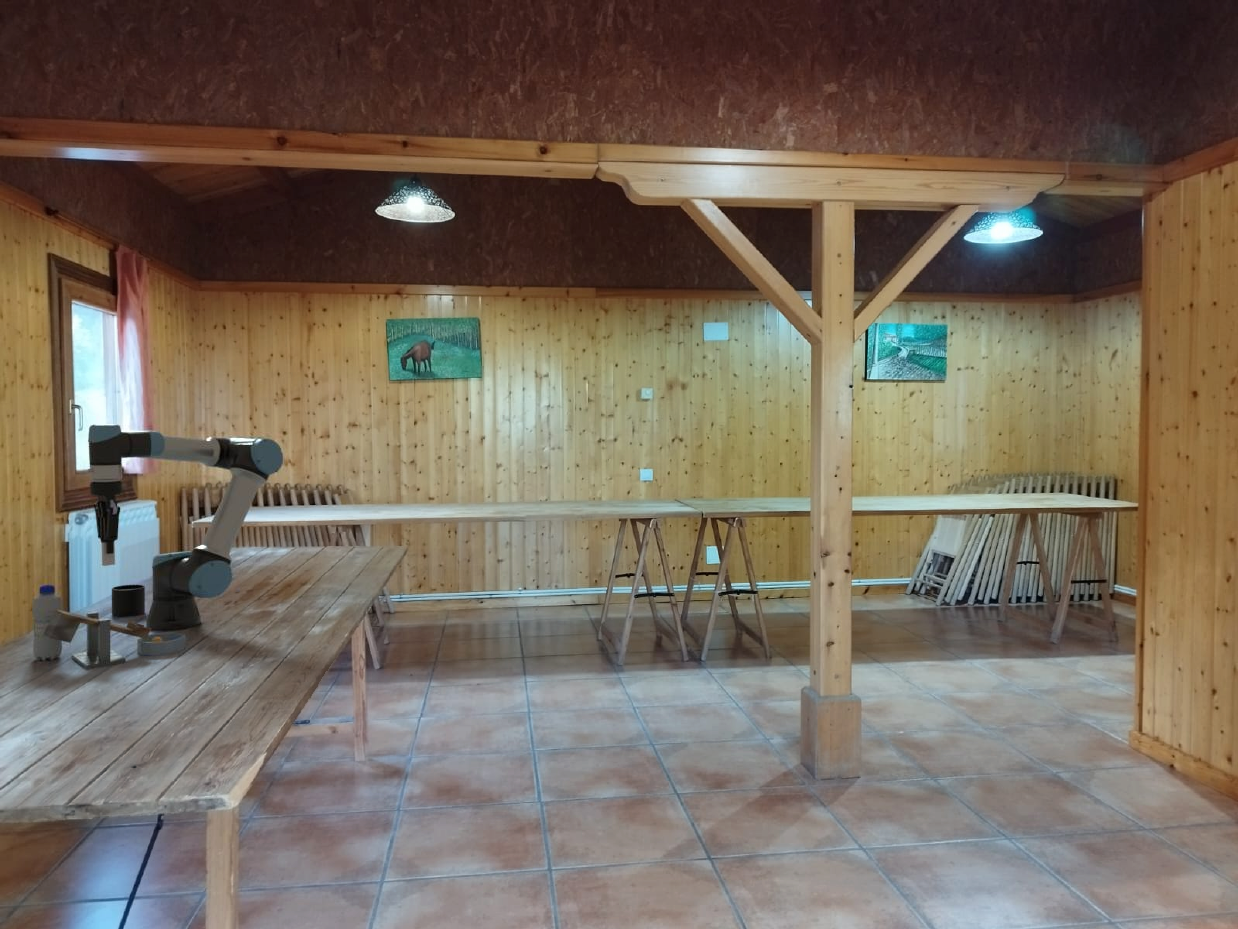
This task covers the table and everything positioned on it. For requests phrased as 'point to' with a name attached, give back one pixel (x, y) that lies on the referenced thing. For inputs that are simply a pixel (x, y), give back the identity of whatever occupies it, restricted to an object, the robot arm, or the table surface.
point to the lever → (68, 623)
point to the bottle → (45, 623)
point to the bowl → (161, 644)
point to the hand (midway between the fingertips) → (108, 564)
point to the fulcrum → (98, 646)
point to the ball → (157, 639)
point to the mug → (128, 600)
